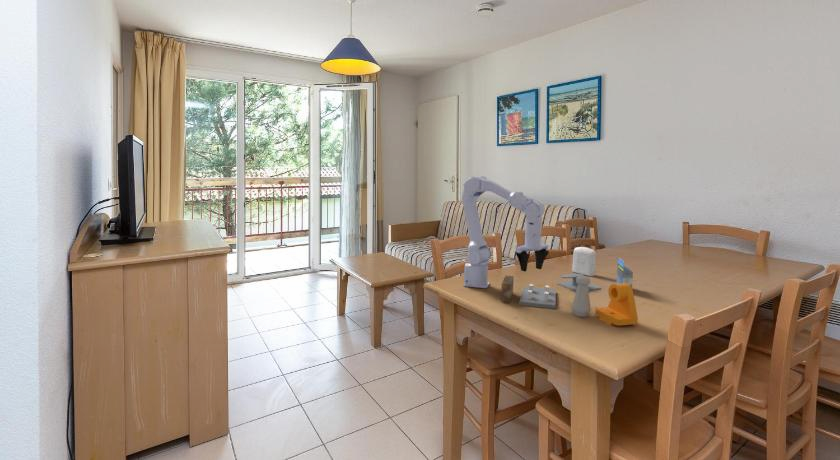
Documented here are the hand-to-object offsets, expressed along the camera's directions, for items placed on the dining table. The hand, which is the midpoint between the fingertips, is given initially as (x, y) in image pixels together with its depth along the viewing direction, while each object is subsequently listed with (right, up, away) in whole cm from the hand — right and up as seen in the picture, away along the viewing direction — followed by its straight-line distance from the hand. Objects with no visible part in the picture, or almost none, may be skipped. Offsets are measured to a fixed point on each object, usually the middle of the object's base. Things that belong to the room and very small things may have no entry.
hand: (531, 269), depth 158 cm
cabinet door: (-10, -10, -3) cm, 14 cm away
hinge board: (+2, -10, -3) cm, 11 cm away
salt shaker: (+11, -13, -21) cm, 27 cm away
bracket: (+20, -14, -26) cm, 35 cm away
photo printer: (+33, -5, +35) cm, 48 cm away
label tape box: (+40, -9, +10) cm, 42 cm away
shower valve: (+22, -9, +13) cm, 27 cm away
